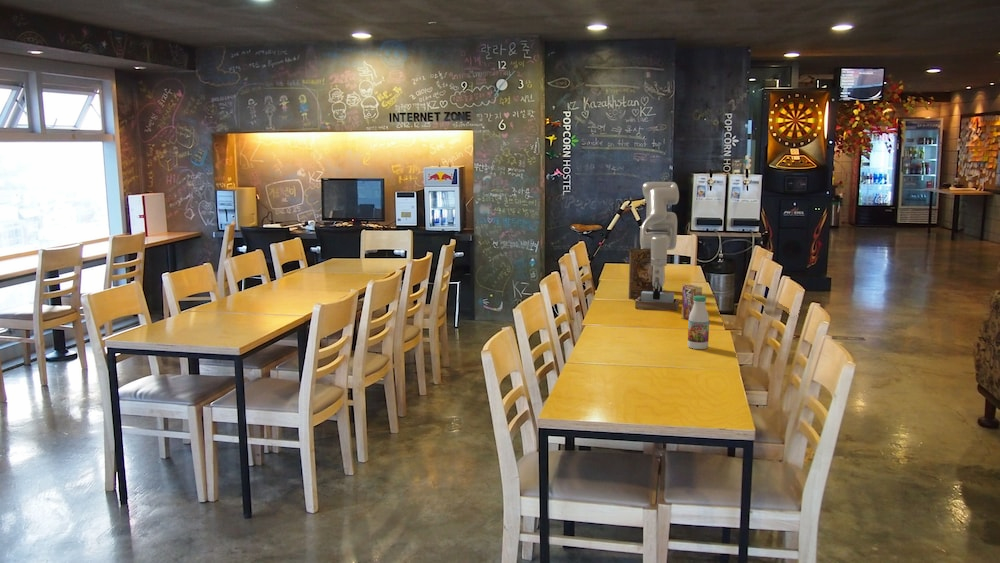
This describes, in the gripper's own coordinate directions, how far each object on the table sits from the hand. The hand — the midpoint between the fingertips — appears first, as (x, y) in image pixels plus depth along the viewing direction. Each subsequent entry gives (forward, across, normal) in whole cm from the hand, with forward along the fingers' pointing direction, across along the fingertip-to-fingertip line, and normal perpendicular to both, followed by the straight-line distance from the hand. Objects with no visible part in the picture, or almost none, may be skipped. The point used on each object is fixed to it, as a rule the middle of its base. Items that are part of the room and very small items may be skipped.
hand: (657, 297), depth 380 cm
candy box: (+5, -23, -18) cm, 29 cm away
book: (+5, +21, +8) cm, 23 cm away
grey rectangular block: (+2, 0, 0) cm, 2 cm away
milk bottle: (+5, -73, -24) cm, 77 cm away
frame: (+5, 0, 0) cm, 5 cm away
